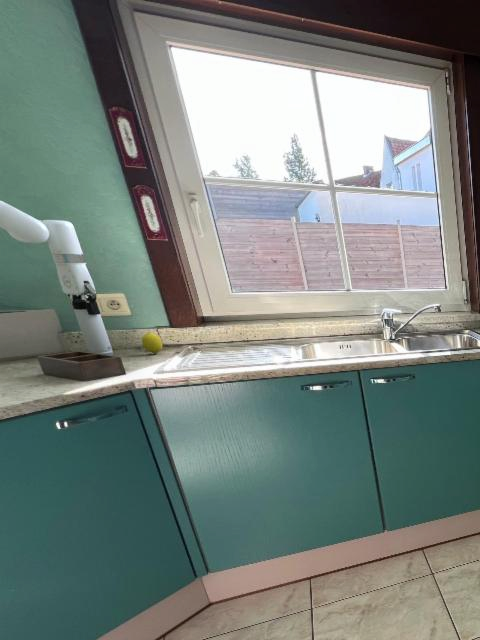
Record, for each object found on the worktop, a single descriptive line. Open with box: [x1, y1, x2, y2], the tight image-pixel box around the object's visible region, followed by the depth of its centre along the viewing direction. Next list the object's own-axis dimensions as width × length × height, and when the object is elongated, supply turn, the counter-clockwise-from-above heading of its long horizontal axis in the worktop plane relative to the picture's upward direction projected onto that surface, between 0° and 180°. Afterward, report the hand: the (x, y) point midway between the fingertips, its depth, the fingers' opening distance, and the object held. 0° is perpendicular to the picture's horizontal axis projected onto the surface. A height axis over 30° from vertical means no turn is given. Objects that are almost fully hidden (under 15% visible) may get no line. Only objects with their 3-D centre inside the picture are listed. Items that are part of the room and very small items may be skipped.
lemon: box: [141, 332, 163, 355], centre depth 183 cm, size 6×6×8 cm
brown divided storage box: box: [36, 350, 127, 382], centre depth 153 cm, size 11×20×6 cm, turn 71°
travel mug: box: [71, 298, 115, 356], centre depth 176 cm, size 6×7×20 cm
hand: (88, 313), depth 174 cm, fingers closed on travel mug, 6 cm apart
